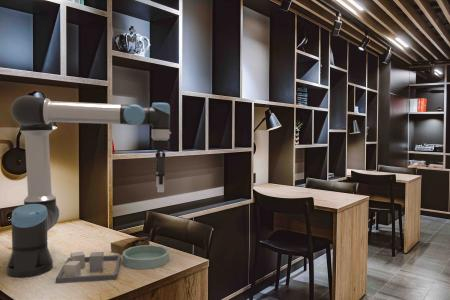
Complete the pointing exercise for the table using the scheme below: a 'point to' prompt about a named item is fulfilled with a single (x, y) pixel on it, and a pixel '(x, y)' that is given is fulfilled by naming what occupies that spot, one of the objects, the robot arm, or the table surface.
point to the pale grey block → (78, 258)
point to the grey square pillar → (96, 262)
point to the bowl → (145, 257)
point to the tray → (91, 277)
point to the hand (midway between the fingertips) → (160, 189)
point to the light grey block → (72, 269)
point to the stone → (128, 244)
